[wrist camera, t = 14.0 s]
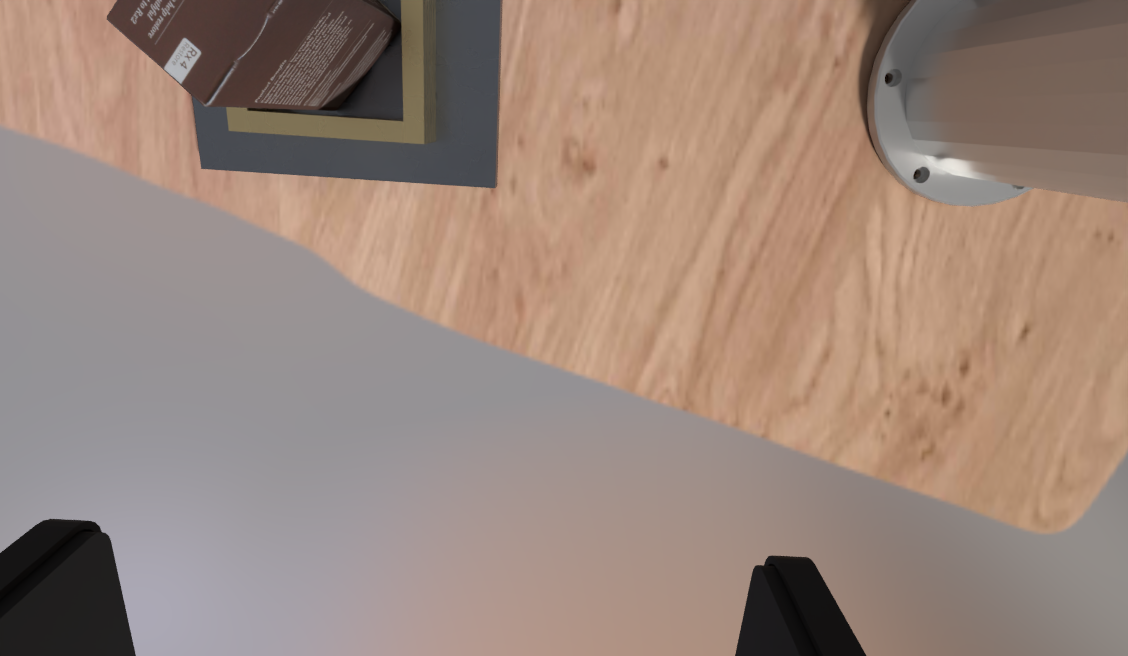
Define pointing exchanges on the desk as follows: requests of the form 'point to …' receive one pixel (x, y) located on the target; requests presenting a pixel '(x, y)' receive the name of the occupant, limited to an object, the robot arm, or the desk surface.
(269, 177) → the desk surface
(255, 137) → the square socket base
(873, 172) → the desk surface
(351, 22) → the box
